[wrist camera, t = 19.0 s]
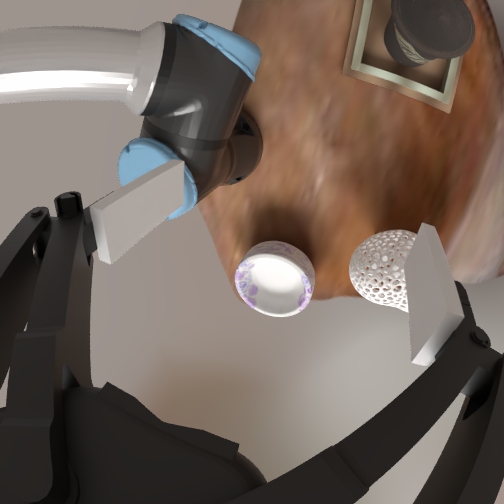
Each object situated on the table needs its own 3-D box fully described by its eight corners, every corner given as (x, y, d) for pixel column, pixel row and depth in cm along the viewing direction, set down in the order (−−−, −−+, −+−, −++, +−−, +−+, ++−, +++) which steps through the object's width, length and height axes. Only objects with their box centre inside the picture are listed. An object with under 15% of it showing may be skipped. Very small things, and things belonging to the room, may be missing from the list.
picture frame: (342, 74, 40) (340, 73, 37) (360, -20, 29) (359, -28, 26) (447, 112, 36) (453, 115, 33) (466, 19, 26) (474, 14, 23)
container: (378, 60, 35) (389, 42, 19) (383, 10, 30) (392, -37, 14) (432, 75, 33) (476, 71, 17) (437, 24, 28) (479, -8, 12)
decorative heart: (451, 231, 46) (474, 289, 32) (429, 277, 52) (439, 340, 38) (362, 200, 50) (359, 250, 36) (346, 250, 56) (335, 310, 42)
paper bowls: (327, 289, 62) (321, 314, 56) (264, 298, 69) (252, 321, 63) (304, 225, 56) (294, 245, 50) (236, 241, 64) (220, 261, 58)
